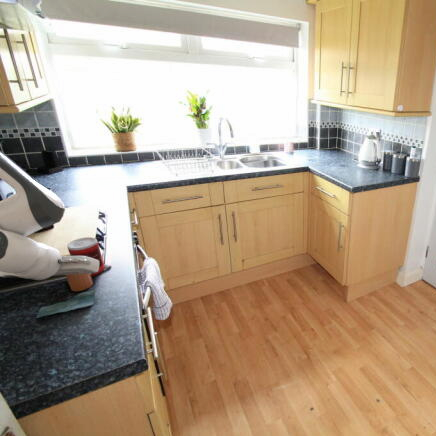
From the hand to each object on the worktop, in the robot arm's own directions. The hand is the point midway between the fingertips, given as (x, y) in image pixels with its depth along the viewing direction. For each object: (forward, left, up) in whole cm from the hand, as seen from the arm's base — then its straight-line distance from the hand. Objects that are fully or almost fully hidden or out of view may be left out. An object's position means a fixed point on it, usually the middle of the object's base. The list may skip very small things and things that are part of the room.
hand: (71, 272), depth 95 cm
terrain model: (+2, -9, -7) cm, 11 cm away
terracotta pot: (0, +2, -6) cm, 7 cm away
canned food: (-1, +10, -7) cm, 12 cm away
